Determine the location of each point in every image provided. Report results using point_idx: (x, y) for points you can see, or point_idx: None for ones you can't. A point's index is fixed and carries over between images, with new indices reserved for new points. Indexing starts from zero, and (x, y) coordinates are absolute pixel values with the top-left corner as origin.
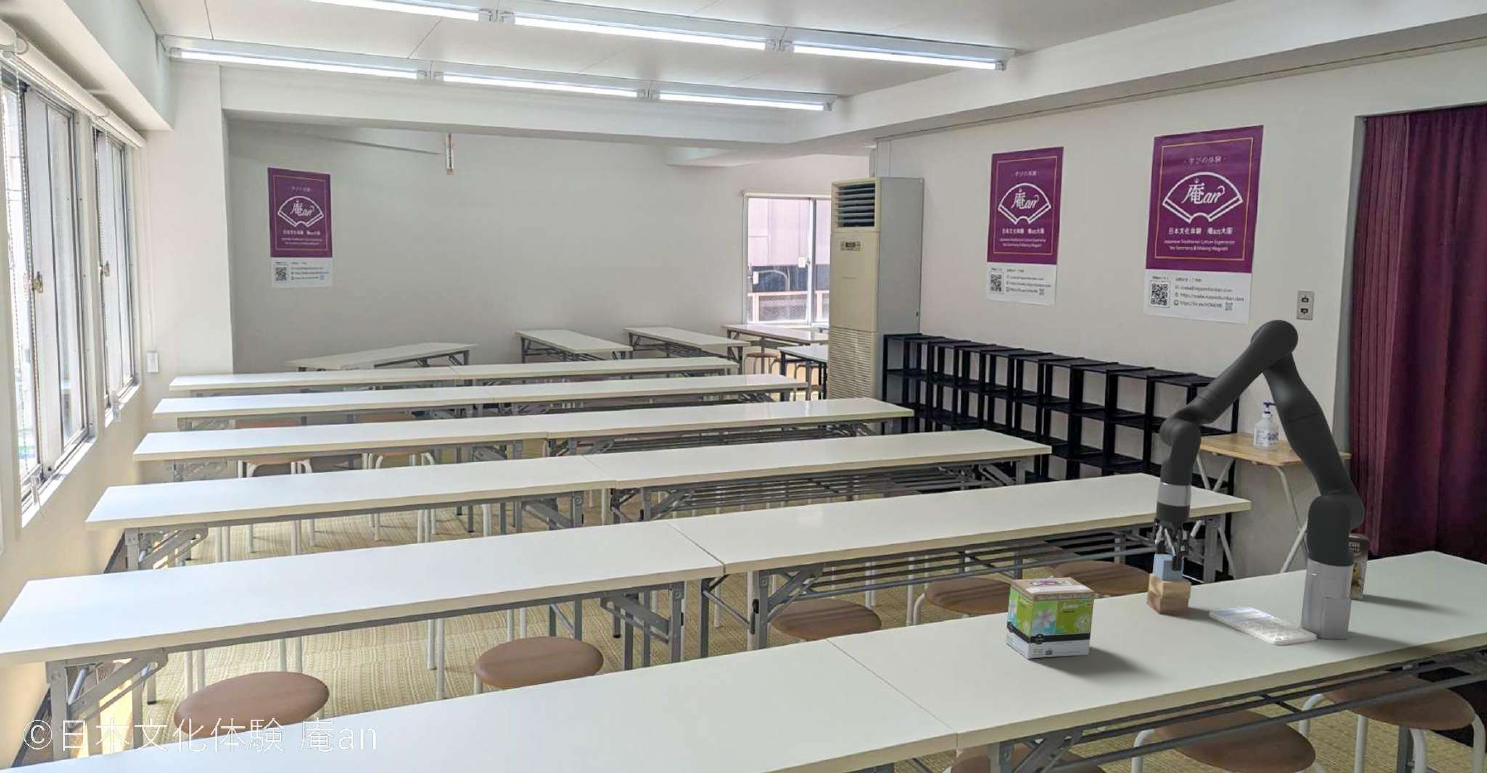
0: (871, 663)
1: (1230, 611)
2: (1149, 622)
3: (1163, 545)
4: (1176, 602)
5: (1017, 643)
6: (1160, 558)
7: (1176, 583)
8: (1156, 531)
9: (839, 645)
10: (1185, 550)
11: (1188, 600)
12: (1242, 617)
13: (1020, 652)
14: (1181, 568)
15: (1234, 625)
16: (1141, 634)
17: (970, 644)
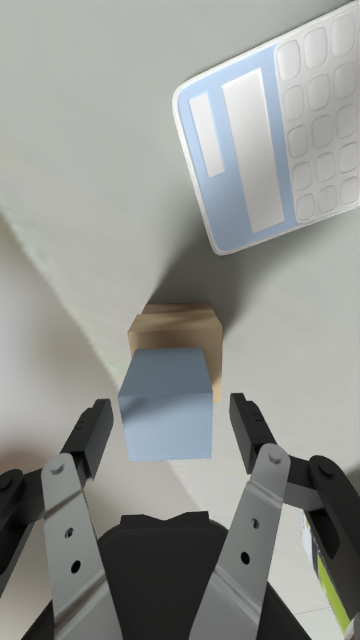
0: (324, 604)
1: (215, 189)
2: (251, 388)
3: (82, 461)
4: None
5: None
6: (182, 457)
7: (221, 368)
8: (3, 577)
9: None
10: (331, 495)
11: (214, 312)
12: (258, 174)
13: None
14: (243, 396)
15: (299, 228)
16: (301, 416)
17: (299, 561)
